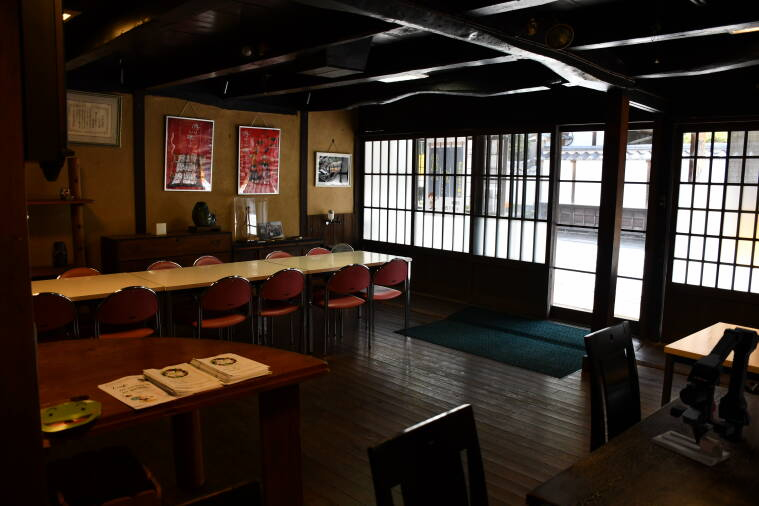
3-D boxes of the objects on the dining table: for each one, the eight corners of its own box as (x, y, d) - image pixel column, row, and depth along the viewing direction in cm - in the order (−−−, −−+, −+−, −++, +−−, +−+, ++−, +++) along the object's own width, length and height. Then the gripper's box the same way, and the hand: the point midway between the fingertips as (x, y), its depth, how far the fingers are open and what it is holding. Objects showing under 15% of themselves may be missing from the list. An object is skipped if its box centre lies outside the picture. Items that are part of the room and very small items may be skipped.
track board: (670, 434, 211) (672, 422, 210) (729, 457, 194) (730, 444, 194) (651, 442, 204) (652, 429, 203) (710, 466, 187) (712, 453, 187)
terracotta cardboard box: (705, 447, 196) (706, 436, 196) (717, 452, 193) (719, 441, 193) (699, 450, 194) (700, 439, 194) (711, 455, 191) (713, 443, 190)
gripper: (662, 394, 197) (657, 438, 200) (720, 414, 182) (714, 462, 184) (681, 388, 204) (676, 431, 206) (737, 407, 188) (731, 453, 191)
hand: (698, 444), depth 197 cm, fingers closed
